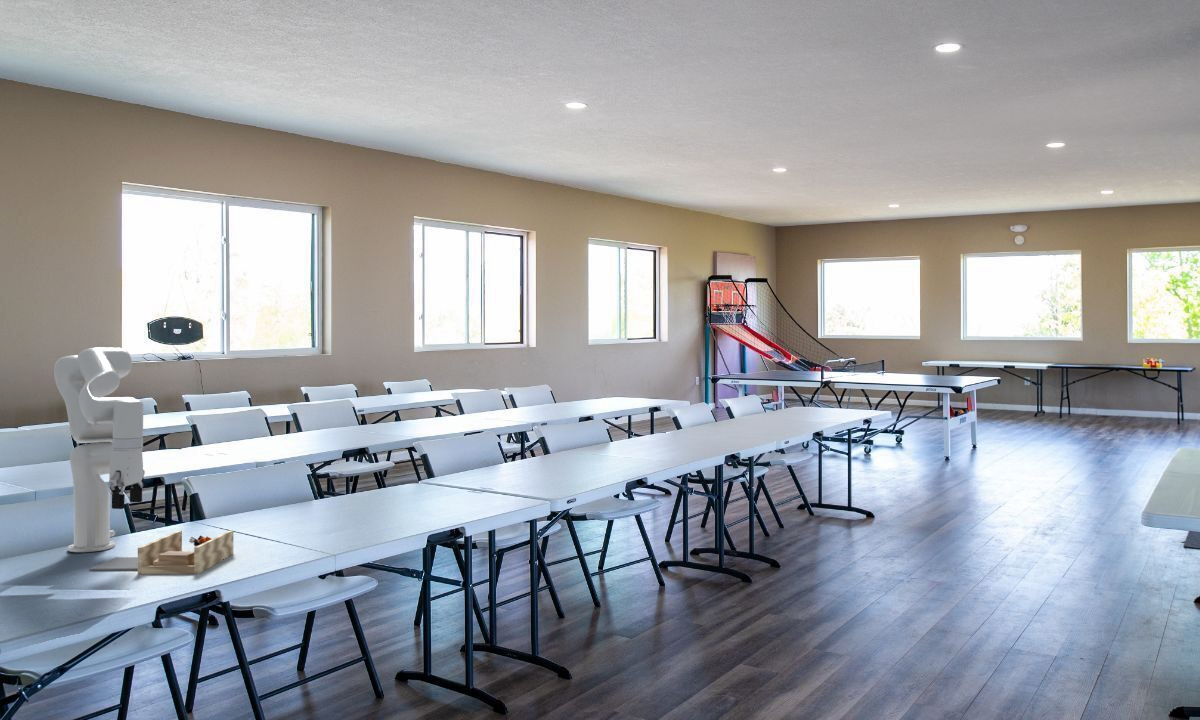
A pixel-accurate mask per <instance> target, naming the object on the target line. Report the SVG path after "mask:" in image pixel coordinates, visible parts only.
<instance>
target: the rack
mask: <svg viewBox="0 0 1200 720" xmlns="http://www.w3.org/2000/svg"><path fill="white" fill-rule="evenodd" d="M193 550H194V551H193V552H194V565H181V566H153V561H155V560H157V559H159V554H162V553H165V552H167V551H183V531H182V530H177V531H174V532H173V533H170V534H167V535H165V536H162V537H160V538H158V539H156V540H152V541H151V542H148V543H146V544H144V545H141V546H138V547H137V557H138V571H137V575H190V574H191V575H199V574H200V573H203V572H204V571H206V570H208V569H210V568H211V567H214V566H215V565H217V564H218V563H221V562H222V561H224V560H226V559H227V558H229V557H230V556H232V555H233V554H234V530H228V531H226V532H223V533H221V534H219V535H218V536H216V537H213V538H211V540H209V541H207V542H205V543H203V544H201V545H199V546H196V547H195V546H194V549H193ZM231 554H232V555H231ZM229 555H230V556H229ZM228 556H229V557H228ZM226 557H227V558H226ZM225 558H226V559H225ZM223 559H224V560H223Z"/></svg>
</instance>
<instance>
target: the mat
mask: <svg viewBox="0 0 1200 720" xmlns="http://www.w3.org/2000/svg"><path fill="white" fill-rule="evenodd" d="M88 571H89V572H105V571H106V572H115V571H117V572H118V571H120V572H123V571H125V572H126V571H127V572H130V571H131V572H133V571H134V572H138V556H133V557H131V556H130V557H129V556H125V557H122V556H121V557H120V556H119V557H118V556H117V557H116V556H115V557H113V558H111V559H109V560H107V561H104V562H102V563H100V564H99V563H98V564H97V565H95V566H92V567H90V568H89V569H88Z"/></svg>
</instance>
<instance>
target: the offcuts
mask: <svg viewBox="0 0 1200 720" xmlns="http://www.w3.org/2000/svg"><path fill="white" fill-rule="evenodd" d="M181 565H194V551H183V550H182V551H167V552H165V553H162V554H159V559H157V560H155V561H153V566H181Z"/></svg>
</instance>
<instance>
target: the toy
mask: <svg viewBox="0 0 1200 720" xmlns="http://www.w3.org/2000/svg"><path fill="white" fill-rule="evenodd" d="M211 539H212V538H211V537H209V536H205V537H204V536H202V535H199V536H198V537H197V538H195V537H193V536H191V537H190V539H189V540H188V542H189V543H191V544H193V546H194V547H196V546H199V545H201V544H203V543H205V542H207V541H209V540H211Z"/></svg>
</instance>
